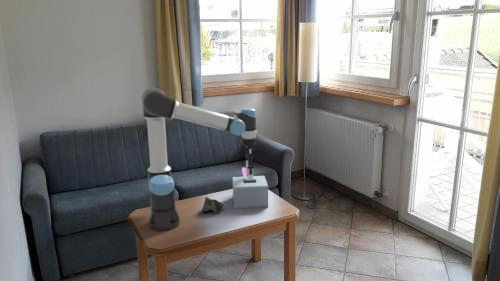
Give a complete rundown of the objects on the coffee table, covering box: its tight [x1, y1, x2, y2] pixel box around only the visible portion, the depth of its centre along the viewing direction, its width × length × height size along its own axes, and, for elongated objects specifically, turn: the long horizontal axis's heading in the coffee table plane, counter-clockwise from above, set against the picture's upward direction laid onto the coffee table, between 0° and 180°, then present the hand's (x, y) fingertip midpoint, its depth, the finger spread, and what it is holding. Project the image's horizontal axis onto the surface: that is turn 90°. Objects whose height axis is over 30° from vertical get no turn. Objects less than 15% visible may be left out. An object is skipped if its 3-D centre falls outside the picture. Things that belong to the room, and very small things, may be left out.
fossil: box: [201, 196, 224, 215], centre depth 214 cm, size 11×9×10 cm
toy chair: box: [241, 166, 248, 177], centre depth 237 cm, size 8×9×15 cm
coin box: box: [232, 175, 269, 209], centre depth 224 cm, size 18×16×12 cm
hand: (249, 175), depth 222 cm, fingers open, 13 cm apart
